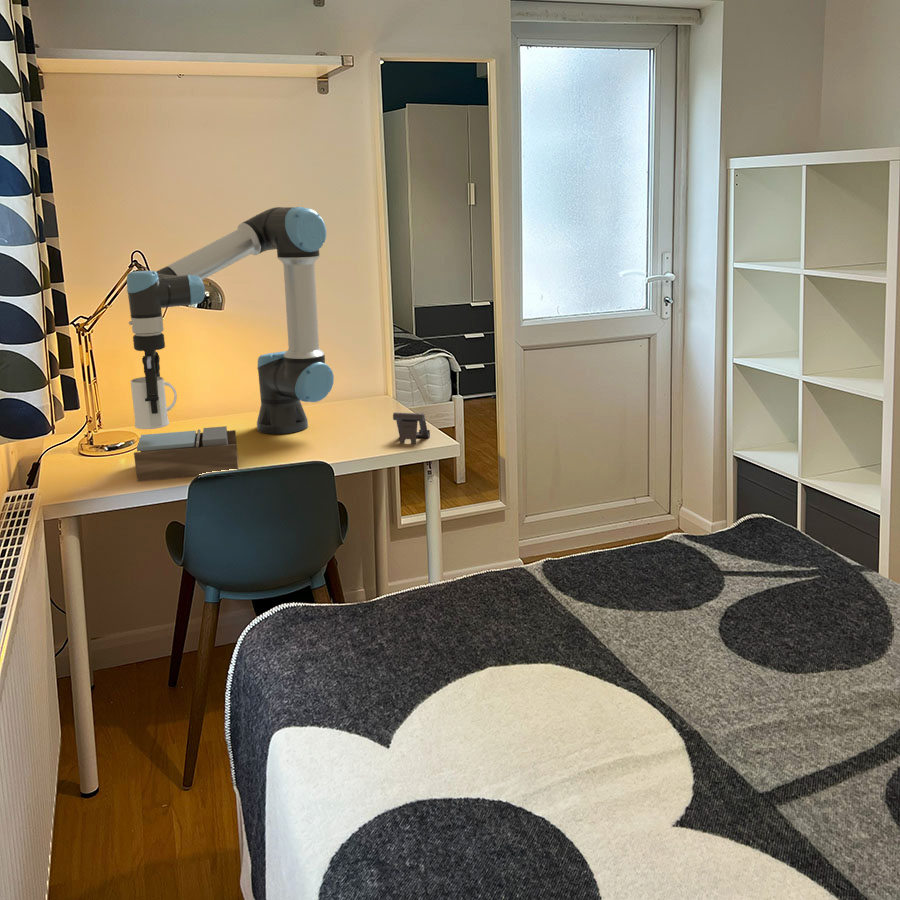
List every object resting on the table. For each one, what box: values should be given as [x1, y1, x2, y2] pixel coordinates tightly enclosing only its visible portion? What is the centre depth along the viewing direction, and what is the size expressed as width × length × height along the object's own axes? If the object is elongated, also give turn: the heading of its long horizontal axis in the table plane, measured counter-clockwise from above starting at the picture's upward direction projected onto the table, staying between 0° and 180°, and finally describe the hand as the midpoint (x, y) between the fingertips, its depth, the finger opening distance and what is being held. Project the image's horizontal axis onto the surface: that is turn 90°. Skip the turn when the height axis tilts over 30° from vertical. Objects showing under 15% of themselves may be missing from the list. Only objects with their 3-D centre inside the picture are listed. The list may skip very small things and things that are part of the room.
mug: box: [130, 376, 178, 430], centre depth 253 cm, size 12×8×12 cm
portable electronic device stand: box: [392, 412, 431, 445], centre depth 278 cm, size 9×8×8 cm
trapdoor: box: [136, 425, 228, 452], centre depth 257 cm, size 22×13×6 cm, turn 102°
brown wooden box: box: [133, 429, 239, 482], centre depth 258 cm, size 16×25×8 cm, turn 102°
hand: (157, 421), depth 254 cm, fingers closed on mug, 8 cm apart
